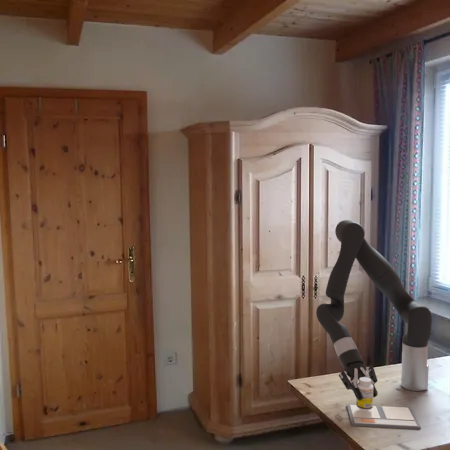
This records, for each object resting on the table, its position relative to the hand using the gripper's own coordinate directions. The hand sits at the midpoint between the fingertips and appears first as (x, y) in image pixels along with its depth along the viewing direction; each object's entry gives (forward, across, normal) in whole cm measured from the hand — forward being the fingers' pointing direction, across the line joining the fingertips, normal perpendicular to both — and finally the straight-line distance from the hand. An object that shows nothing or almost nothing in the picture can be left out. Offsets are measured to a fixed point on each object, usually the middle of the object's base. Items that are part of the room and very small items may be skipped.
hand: (368, 397), depth 173 cm
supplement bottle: (+2, 0, +4) cm, 5 cm away
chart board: (+6, +4, +3) cm, 8 cm away
